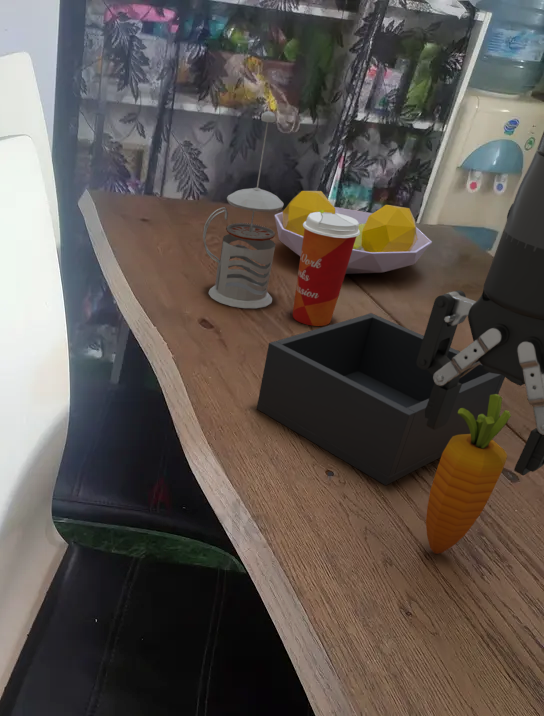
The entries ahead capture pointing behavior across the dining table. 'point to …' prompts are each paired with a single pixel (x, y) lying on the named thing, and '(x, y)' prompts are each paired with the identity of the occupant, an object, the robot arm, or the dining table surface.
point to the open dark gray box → (366, 395)
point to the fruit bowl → (377, 233)
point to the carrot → (465, 477)
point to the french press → (238, 283)
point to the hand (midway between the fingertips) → (478, 447)
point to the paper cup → (323, 265)
